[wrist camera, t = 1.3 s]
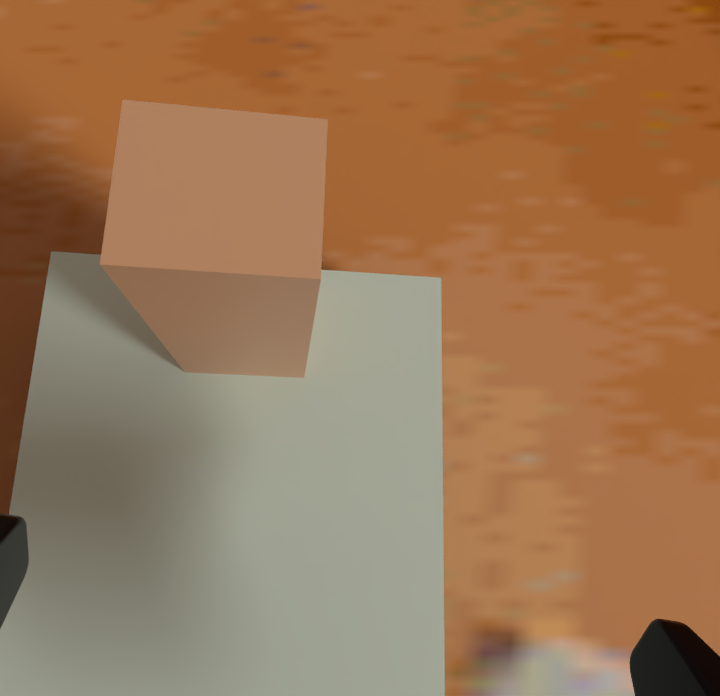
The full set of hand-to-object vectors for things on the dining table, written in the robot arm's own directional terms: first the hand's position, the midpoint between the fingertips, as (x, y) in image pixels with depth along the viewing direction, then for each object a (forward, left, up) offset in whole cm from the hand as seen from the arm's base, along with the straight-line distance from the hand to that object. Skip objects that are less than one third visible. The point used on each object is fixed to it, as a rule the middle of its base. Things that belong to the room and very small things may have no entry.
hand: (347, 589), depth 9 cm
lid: (0, +3, -11) cm, 12 cm away
